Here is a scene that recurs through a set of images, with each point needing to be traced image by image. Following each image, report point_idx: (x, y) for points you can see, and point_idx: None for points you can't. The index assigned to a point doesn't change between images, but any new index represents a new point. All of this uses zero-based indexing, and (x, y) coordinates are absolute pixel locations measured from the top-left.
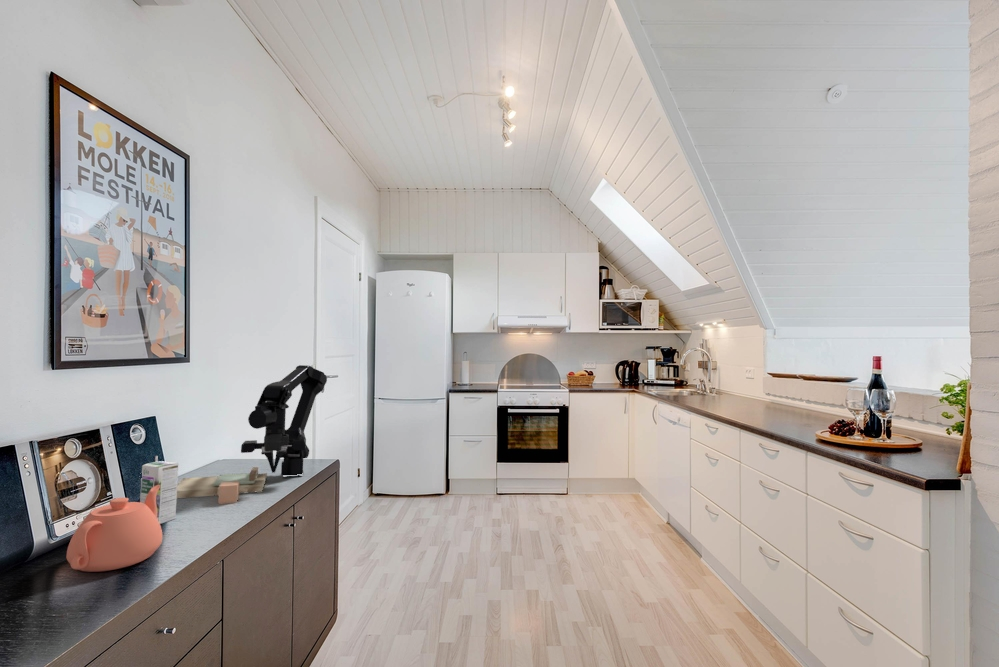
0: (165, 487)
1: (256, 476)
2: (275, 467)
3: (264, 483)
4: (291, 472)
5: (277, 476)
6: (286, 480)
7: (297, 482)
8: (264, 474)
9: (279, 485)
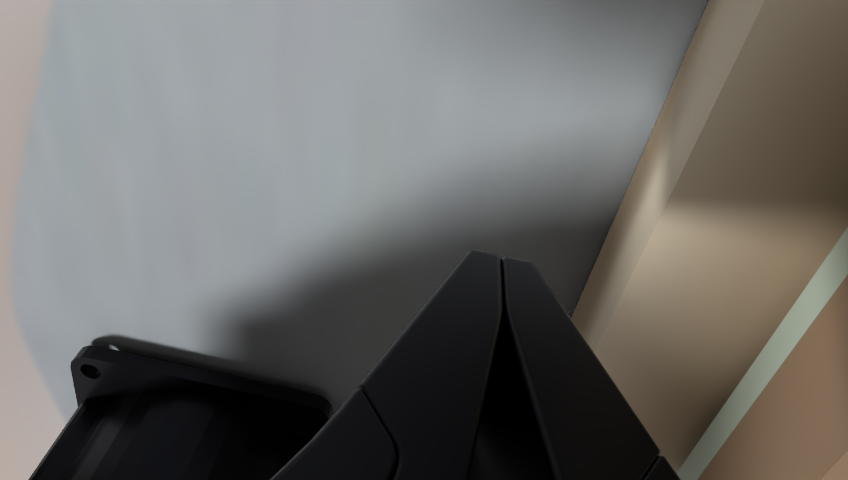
0: None
1: (786, 346)
2: (455, 308)
3: (640, 187)
4: (200, 432)
5: None
6: (285, 282)
7: (117, 107)
8: None
9: (405, 59)
